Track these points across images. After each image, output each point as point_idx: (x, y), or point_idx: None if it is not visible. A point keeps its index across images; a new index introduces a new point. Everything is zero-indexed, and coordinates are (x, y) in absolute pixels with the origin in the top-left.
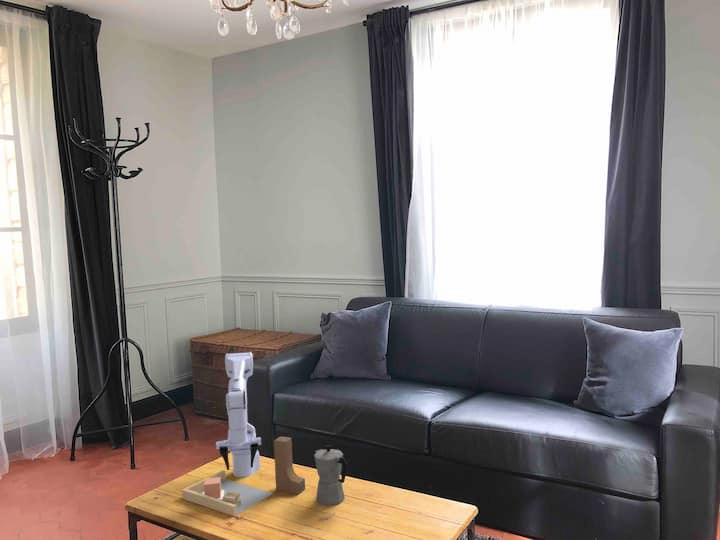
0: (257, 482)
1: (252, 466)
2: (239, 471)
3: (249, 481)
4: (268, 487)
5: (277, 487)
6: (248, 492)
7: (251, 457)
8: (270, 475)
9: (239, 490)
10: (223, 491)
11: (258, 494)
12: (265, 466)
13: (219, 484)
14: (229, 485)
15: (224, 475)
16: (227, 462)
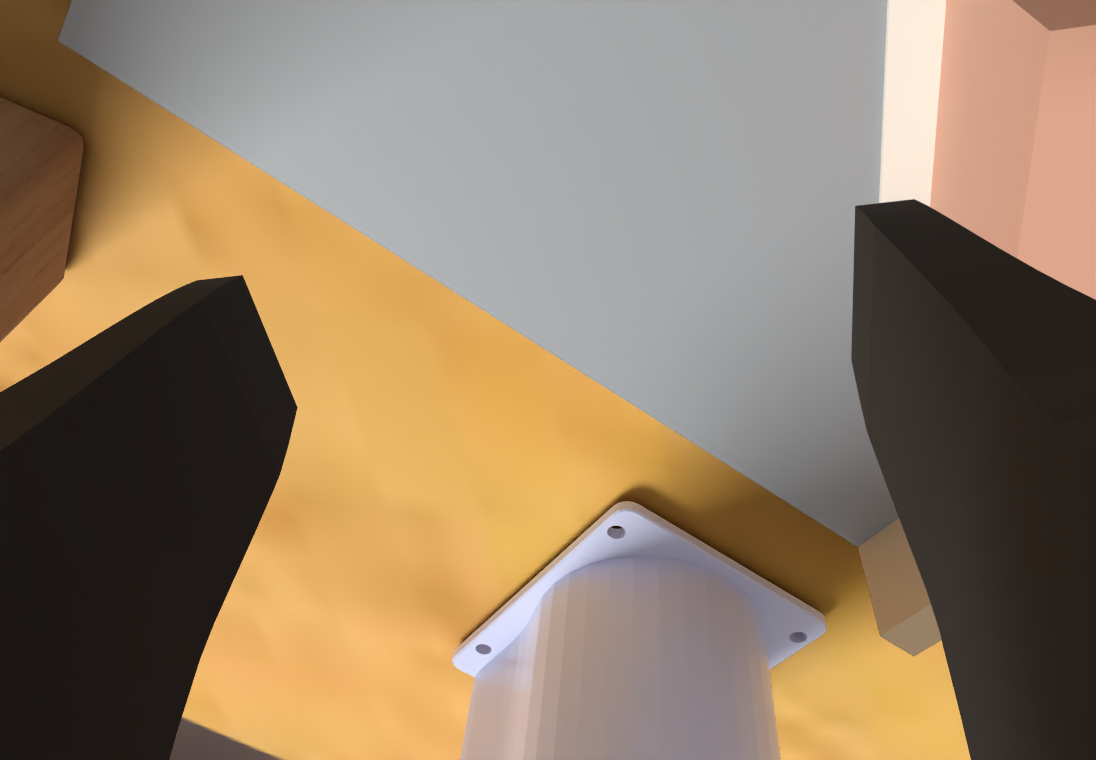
0: (446, 448)
1: (183, 290)
2: (682, 623)
3: (553, 484)
4: (261, 304)
5: (12, 149)
6: (480, 126)
7: (10, 426)
8: (338, 573)
9: (636, 214)
10: (891, 201)
11: (296, 28)
12: (447, 734)
13: (1046, 18)
14: (801, 383)
15: (881, 579)
16: (970, 296)
